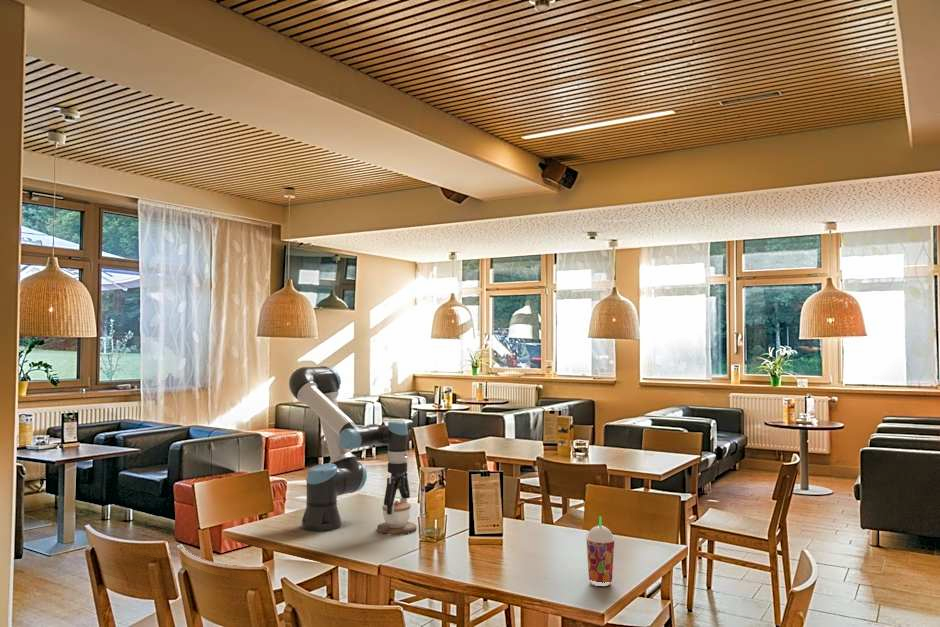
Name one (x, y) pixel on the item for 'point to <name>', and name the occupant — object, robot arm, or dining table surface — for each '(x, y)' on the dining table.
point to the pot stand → (397, 529)
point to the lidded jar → (398, 514)
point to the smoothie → (600, 553)
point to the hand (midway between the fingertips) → (397, 518)
